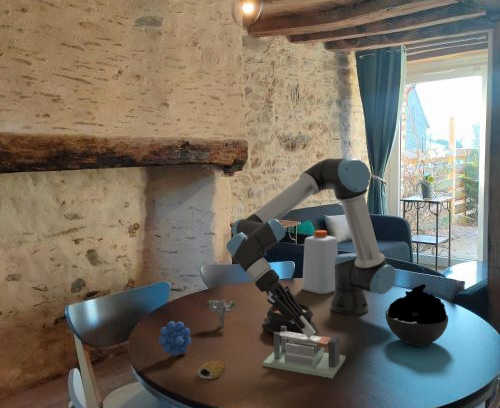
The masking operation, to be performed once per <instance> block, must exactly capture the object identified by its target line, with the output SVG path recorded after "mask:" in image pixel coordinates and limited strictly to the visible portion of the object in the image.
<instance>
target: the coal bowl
mask: <svg viewBox="0 0 500 408" xmlns="http://www.w3.org/2000/svg"><path fill="white" fill-rule="evenodd" d="M426 287H427V285H426V284H425V283H424V284H423V283H422V284H420V285H418V286H415V287H413V288H412V289H411V290H410V291H408V290H406V291H405V292H404V293H405V295H404V296H403V297H399V298H396V299H395V300H393V301H392V303H390V304H389V306H388V308H387V309H386V311H385V319H386V322H387V326H388V328H389V330H390V331H391V332H392V333H393V335H394V336H396V337H397V338H398V339H399V340H401V341H403V342H405V343H406V344H408V345H414V346H426V345H429V344H432V343H434V342H436V341H437V340H438V339H439V338H441V336H443V334H444V333H445V331H446V329H447V327H448V324H449V315H448V314H447V311H446V308H445V307H446V306H445V303H444V302H442V300H441V298H440V297H437V296H435V295H433V294H432V293H430V294H429V293H428V292H425V291H424V289H426Z"/></svg>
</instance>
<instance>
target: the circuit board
mask: <svg viewBox="0 0 500 408" xmlns="http://www.w3.org/2000/svg"><path fill="white" fill-rule="evenodd" d="M284 354H285V352H281V345H280V359H279V360H278V359H274V351H273V352H272V353H271V354H270V355H269V356H268V357H266V358H265V360H264V361H263V362H262V363H263V364H262V367H267V368H272V369H278V370H282V371H283V370H284V371H289V372H294V373H301V374H304V375H310V374H311V376H316V375H317V377H321V376H322V378H327V377H328V379H334V378H335V376H336V375H335V374H337V373H338V372H337V371H339V370H340V369H341V367H342V365H343V364H344V363H345V361H346V355H343V354H340V361H339V363H338V364H337V366H336V367H335V368H333V367H329V355H328V352H324V355H323V356H322V357H321V359H320V360H319V361H318V363H317V364H316V365H315V367H314V368H313V369H312V368H306V367H300V366H295V365H289V364H285V355H284ZM333 377H334V378H333Z"/></svg>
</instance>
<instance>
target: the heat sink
mask: <svg viewBox="0 0 500 408" xmlns="http://www.w3.org/2000/svg"><path fill="white" fill-rule="evenodd" d="M282 330H283V331H287V328H286V326H281V331H282ZM312 336H314V335H312ZM316 336H317V337H321V336H318V335H316ZM280 346H281V352H285V354H284V355H285V364H289V365H295V366H300V367H306V368H312V369H313V368H314V367H315V365H316V364H317V363H318V361H319V360H320V359H321V357H322V356H323V355H324V353H325V352H324V351H325V350H324V349H325V348H323V347H317V345H314V344H308V343H303V342H297V341H292V340H286V339H280V333H278V332H274V333H273V352H274V359H278V360H279V359H280ZM327 348H328V352H327V353H328V355H329V367H333V368H335V367H336V366H337V364H338V363H339V361H340V355H341V354H340V353H341V352H340V350H341V349H340V336H337V335H332V336H331V339H330V340H329V341H328V347H327Z"/></svg>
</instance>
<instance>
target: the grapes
mask: <svg viewBox="0 0 500 408" xmlns="http://www.w3.org/2000/svg"><path fill="white" fill-rule="evenodd" d="M159 331H160V334H161V336H159V337H158V343H159V345H161V346H162V351H163V352H164V353H165V354H169V353H170V354H171V356H172V357H177V356H179V355H180V354H184V353H186V352H187V351H188V347H187V346H190V345H191V343H192V339H191V337H190V334H191V329H190V328H189V327H185V324H184V322H182V321H177V322H175V321H172V320H171V321H168V322H167V324H166V326H163V327H161V328H160V330H159Z"/></svg>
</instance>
